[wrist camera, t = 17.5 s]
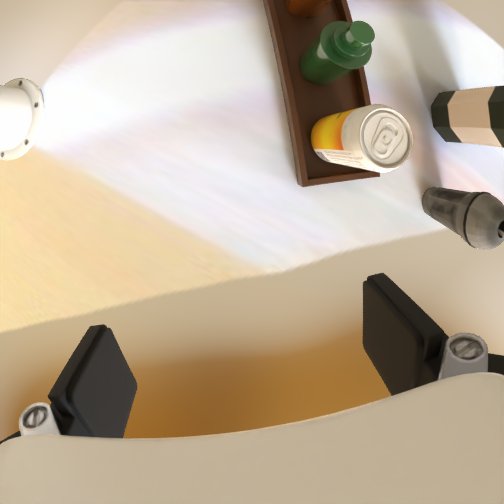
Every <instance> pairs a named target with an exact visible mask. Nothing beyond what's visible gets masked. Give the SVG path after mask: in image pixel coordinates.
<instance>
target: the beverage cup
mask: <svg viewBox="0 0 504 504" xmlns="http://www.w3.org/2000/svg"><path fill="white" fill-rule="evenodd" d="M422 206H423V209H424V211H425V213H426V214H428V215H429V216H431V217H432V218H433V219H435V220H437V221H438V222H440V223H441V224H443V225H445V226H446V227H448V228H449V229H451V230H452V231H454V232H456V233H457V234H458V235H460V236H461V237H462V238H463V239H464V240H465V241H466V242H467V243H468V244H469V245H470V246H472V247H473V248H479V249H493V248H495V247H497V246H498V245H500V244H501V243H502V242H503V241H504V205H503V204H502V202H501V201H499V200H498V199H497V198H496V197H494V196H493V195H491V194H490V193H488V192H472V193H471V192H465V191H459V190H453V189H446V188H436V187H432V188H429V189H428V190H427V191H426V192H425V194H424V196H423V200H422Z"/></svg>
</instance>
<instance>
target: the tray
mask: <svg viewBox="0 0 504 504" xmlns="http://www.w3.org/2000/svg"><path fill="white" fill-rule="evenodd" d="M263 2H264V6H265V10H266V15H267V19H268V23H269V28H270V32H271V37H272V41H273V46H274V51H275V55H276V60H277V65H278V70H279V75H280V80H281V85H282V91H283V96H284V101H285V107H286V112H287V118H288V124H289V130H290V136H291V142H292V148H293V154H294V160H295V167H296V173H297V180H298V185H300V186H302V187H307V186H314V185H321V184H327V183H334V182H341V181H349V180H356V179H364V178H371V177H380V172H375V171H371V170H366V169H361V168H357V167H352V166H347V165H342V164H337V163H331V162H327V161H325V160H323V159H322V158H320V157H319V156H318V155H317V154H316V152H315V151H314V149H313V147H312V144H311V132H312V129H313V127H314V125H315V124H316V123H317V122H318V121H319V120H320V119H322V118H323V117H326V116H330V115H333V114H337V113H341V112H345V111H349V110H353V109H356V108H361V107H365V106H369V105H371V103H370V97H369V91H368V86H367V81H366V76H365V71H364V66H362V67H360V68H359V69H357V70H355V71H353V72H351V73H349V74H347V75H345V76H344V77H342V78H340V79H338V80H336V81H335V82H333V83H331V84H329V85H316V84H313V83H311V82H309V81H308V80H307V79H306V78H305V77H304V76H303V75H302V73H301V71H300V69H299V59H300V56H301V54H302V53H303V52H304V51H305V50H306V48H307V47H308V46H309V45H310V44H311V42H312V41H313V40H314V39H315V38H316V37H317V35H318V34H319V33H320V32H321V31H322V30H323V29H324V27H325V26H326V25H328V24H330V23H332V22H336V21H345V22H349V23H353V21H352V18H351V14H350V11H349V7H348V4H347V1H346V0H331V2H330V3H329V4H328V6H327V7H326V8H325V9H324V11H323V12H322V13H321V14H320V15H319V16H317V17H315V18H309V19H307V18H301V17H298V16H295V15H294V14H292V13H291V12H290V11H289V10H288V9H287V8H286V6H285V4H284V0H263Z"/></svg>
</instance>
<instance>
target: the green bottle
mask: <svg viewBox="0 0 504 504" xmlns="http://www.w3.org/2000/svg"><path fill="white" fill-rule="evenodd" d="M374 38H375V34H374V31H373V29H372V27H371V26H370V25H369V24H367V23H365V22H363V21H355V22H353V23H349V22H345V21H336V22H332V23H330V24H328V25H326V26H325V27H324V29H323V30H322V31H321V32H320V33H319V34H318V35H317V37H316V38H315V39H314V40H313V41H312V42H311V44H310V45H309V46H308V47H307V48H306V50H305V51H304V52H303V53H302V54H301V56H300V59H299V69H300V71H301V73H302V75H303V76H304V77H305V78H306V79H307V80H308V81H309V82H311V83H313V84H316V85H329V84H331V83H333V82H335V81H336V80H338V79H340V78H342V77H344V76H345V75H347V74H349V73H351V72H353V71H355V70H357V69H359V68H360V67H362V66H364V65H365V64H366V63H367V62H368V61H369V60H370V57H371V53H372V47H371V42H372V41H373V40H374Z"/></svg>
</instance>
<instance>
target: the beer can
mask: <svg viewBox="0 0 504 504" xmlns="http://www.w3.org/2000/svg"><path fill="white" fill-rule="evenodd" d="M311 144H312V147H313V149H314V151H315V152H316V154H317V155H318V156H319V157H320V158H322V159H323V160H325V161H327V162H331V163H337V164H342V165H347V166H352V167H357V168H361V169H366V170H371V171H375V172H382V173H383V172H390V171H392V170H394V169H396V168H398V167H399V166H401V165H402V164H403V163H405V161H406V160H407V159H408V158H409V156H410V154H411V151H412V147H413V135H412V131H411V128H410V126H409V124H408V122H407V121H406V119H405V118H404V117H403V116H402V115H401V114H400V113H399V112H397V111H395V110H394V109H392V108H390V107H388V106H385V105H381V104H374V105H369V106H365V107H361V108H356V109H353V110H349V111H345V112H341V113H337V114H333V115H330V116H326V117H323V118H322V119H320V120H319V121H318V122H317V123H316V124H315V125H314V127H313V129H312V132H311Z"/></svg>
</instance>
